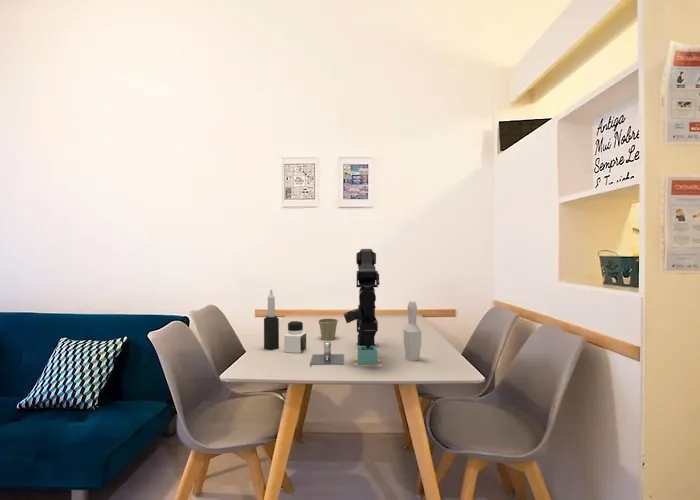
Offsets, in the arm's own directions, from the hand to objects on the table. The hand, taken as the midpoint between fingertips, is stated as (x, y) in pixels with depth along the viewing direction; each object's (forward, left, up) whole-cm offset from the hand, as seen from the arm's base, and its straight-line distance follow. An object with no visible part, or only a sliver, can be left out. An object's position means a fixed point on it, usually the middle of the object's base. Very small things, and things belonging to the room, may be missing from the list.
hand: (367, 344), depth 139 cm
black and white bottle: (+26, -37, -7) cm, 46 cm away
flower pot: (-2, -42, -7) cm, 43 cm away
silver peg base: (+12, -9, -7) cm, 16 cm away
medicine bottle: (+18, -29, -7) cm, 35 cm away
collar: (0, 0, -6) cm, 6 cm away
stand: (0, 0, -7) cm, 7 cm away
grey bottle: (-17, +4, -7) cm, 19 cm away
